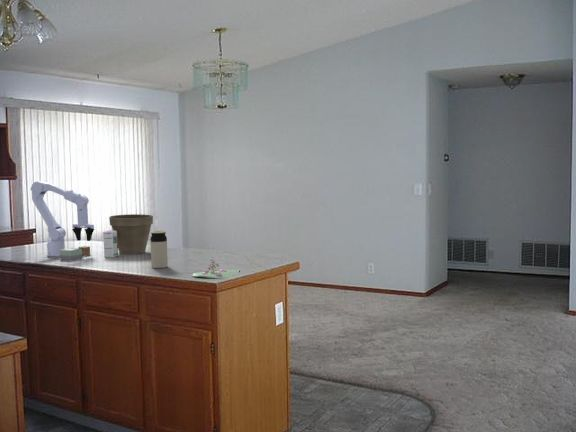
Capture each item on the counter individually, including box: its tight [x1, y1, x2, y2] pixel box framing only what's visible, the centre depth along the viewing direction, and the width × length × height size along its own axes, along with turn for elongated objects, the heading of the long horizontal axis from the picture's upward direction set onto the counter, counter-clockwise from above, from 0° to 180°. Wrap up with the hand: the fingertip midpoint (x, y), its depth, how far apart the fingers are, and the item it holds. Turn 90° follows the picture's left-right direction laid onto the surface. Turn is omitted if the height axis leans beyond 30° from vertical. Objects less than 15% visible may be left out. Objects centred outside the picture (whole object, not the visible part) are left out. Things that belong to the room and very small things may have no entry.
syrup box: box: [102, 230, 119, 258], centre depth 355 cm, size 6×6×14 cm
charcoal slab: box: [59, 254, 83, 262], centre depth 348 cm, size 8×8×3 cm
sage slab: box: [60, 247, 82, 256], centre depth 348 cm, size 8×8×3 cm
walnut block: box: [77, 246, 91, 257], centre depth 362 cm, size 4×4×5 cm
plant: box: [191, 256, 240, 279], centre depth 293 cm, size 25×21×9 cm
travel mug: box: [149, 230, 169, 269], centre depth 314 cm, size 8×8×18 cm
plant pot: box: [108, 213, 154, 255], centre depth 368 cm, size 25×25×22 cm
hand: (83, 240), depth 361 cm, fingers open, 7 cm apart
